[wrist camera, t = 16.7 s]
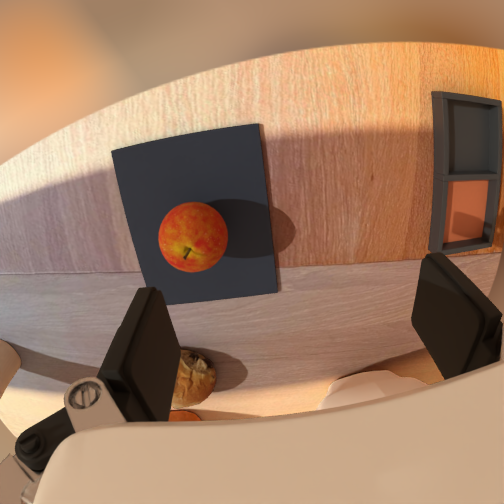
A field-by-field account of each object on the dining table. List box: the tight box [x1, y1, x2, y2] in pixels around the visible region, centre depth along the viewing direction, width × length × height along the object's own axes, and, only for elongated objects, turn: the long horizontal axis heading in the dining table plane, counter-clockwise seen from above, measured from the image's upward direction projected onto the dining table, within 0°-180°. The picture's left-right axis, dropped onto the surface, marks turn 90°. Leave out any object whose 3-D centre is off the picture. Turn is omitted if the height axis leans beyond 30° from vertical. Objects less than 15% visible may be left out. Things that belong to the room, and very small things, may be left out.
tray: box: [428, 91, 502, 255], centre depth 32 cm, size 20×11×2 cm, turn 7°
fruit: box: [159, 202, 228, 272], centre depth 31 cm, size 7×7×8 cm
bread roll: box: [171, 350, 217, 409], centre depth 43 cm, size 10×10×8 cm
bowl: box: [316, 370, 428, 410], centre depth 43 cm, size 22×22×12 cm
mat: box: [111, 123, 278, 305], centre depth 35 cm, size 20×16×1 cm
